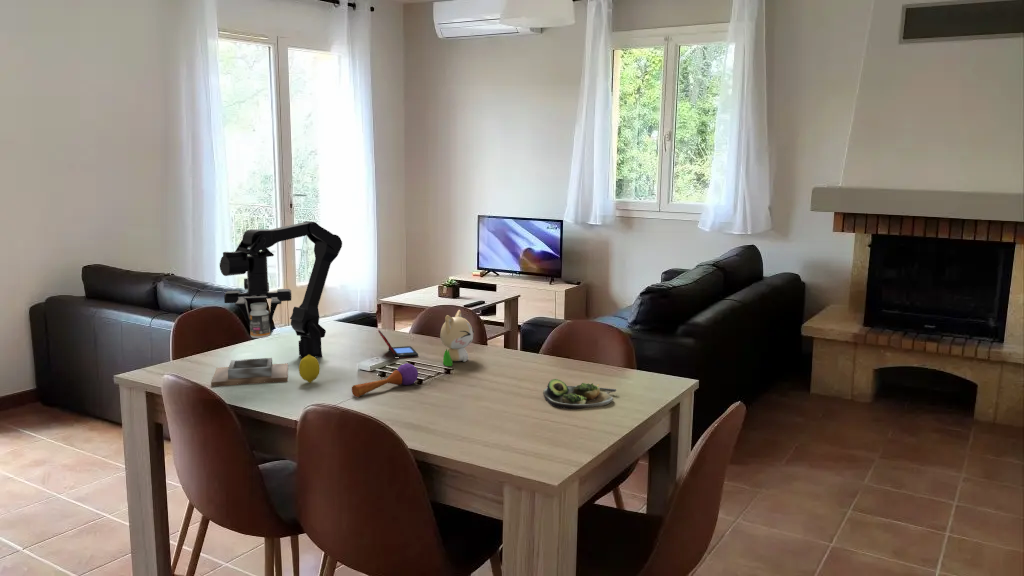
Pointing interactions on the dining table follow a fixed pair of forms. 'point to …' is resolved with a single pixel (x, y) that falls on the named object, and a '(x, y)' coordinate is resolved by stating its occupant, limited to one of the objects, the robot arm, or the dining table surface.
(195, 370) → the dining table surface
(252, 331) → the pill bottle
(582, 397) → the salad plate
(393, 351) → the handheld game console
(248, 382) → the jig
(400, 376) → the purple and orange maraca
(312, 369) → the lemon
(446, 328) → the kitten
